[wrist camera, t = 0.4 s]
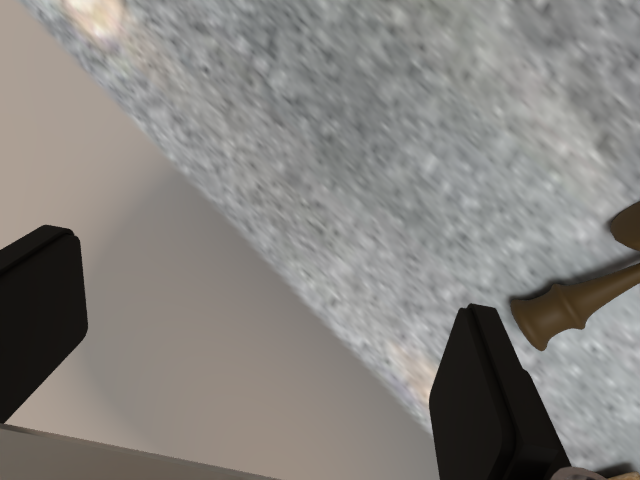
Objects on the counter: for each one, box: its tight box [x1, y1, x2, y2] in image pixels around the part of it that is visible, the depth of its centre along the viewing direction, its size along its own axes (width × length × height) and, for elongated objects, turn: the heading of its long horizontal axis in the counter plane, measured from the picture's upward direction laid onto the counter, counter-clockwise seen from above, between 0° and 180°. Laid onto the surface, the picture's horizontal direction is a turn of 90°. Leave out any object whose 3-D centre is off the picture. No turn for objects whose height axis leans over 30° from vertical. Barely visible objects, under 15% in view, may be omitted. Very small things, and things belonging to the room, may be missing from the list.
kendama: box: [510, 202, 640, 351], centre depth 39 cm, size 6×10×20 cm
